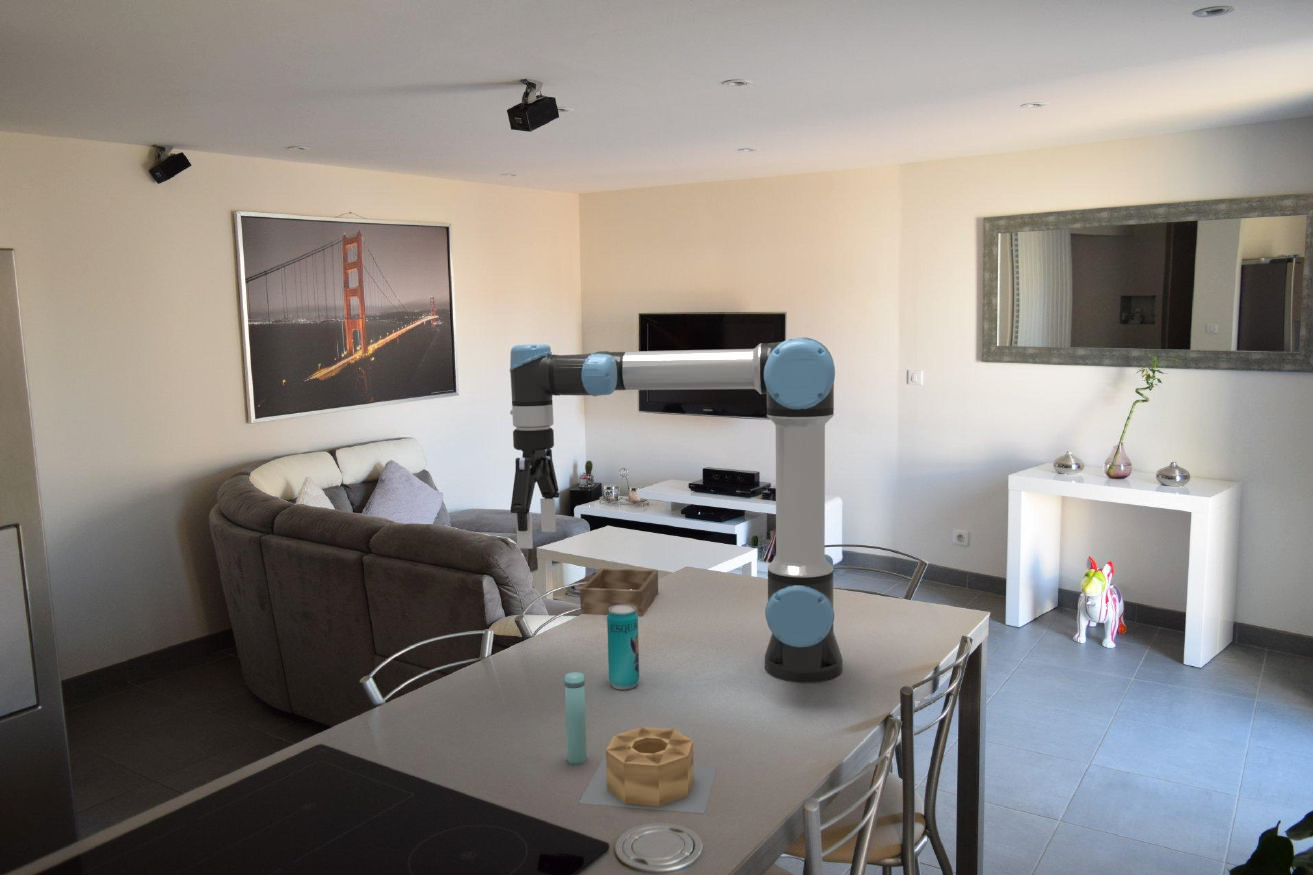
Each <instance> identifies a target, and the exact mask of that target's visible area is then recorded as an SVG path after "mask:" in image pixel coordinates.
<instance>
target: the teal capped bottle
mask: <svg viewBox="0 0 1313 875" xmlns="http://www.w3.org/2000/svg"><path fill="white" fill-rule="evenodd" d="M585 683H586V681H585V674H584V673H582V672H578V671H573V672H568V673H566V674H565V675H564V695H565V697H564V699H565V720H566V721H565V725H566V726H565V727H566V750H567V752H566V754H567V757H566V758H567V762H568V763H569V764H571V765H581V764H584V763H586V761H587V760H588V758H587V757H588V756H587V755H588V754H587V752H588V751H587V724H586V722H587V721H586V694H585V693H586V692H585V691H586V690H585V686H586V685H585Z"/></svg>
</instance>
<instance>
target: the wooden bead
mask: <svg viewBox="0 0 1313 875" xmlns="http://www.w3.org/2000/svg"><path fill="white" fill-rule="evenodd" d="M605 759H606V771H607V790H609V791H610V792H611V793H612V794H614V795H615V796H616V797H617V798H619V799H620V800H621V801H623V802H624V803H626V804H638V805H651V806H661V805H664V804H667V803H670V802H672V801H675V800H678V799H681V798H684V797H686V796H688V795H689V792H690V789H691V786H692V783H693V780H694V766H693V765H694V740H693V739H691V738H689V737H688V736H685V735H684V734H682V733H681V732H679V731H678V730H676V729H674V728H664V727H663V728H660V727H649V726H648V727H647V726H641V727H638V728H634V729H631V730H627V731H625V732H621V733H618V734H614V735H613V737H612V738H611V740H610V742H609V744H608V746H607V747H606V749H605Z"/></svg>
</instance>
